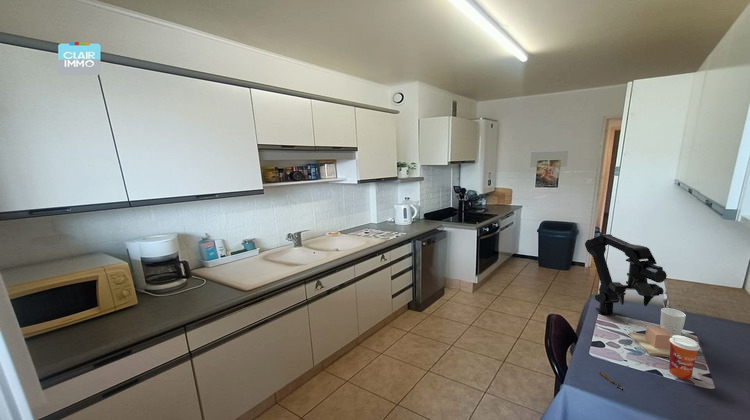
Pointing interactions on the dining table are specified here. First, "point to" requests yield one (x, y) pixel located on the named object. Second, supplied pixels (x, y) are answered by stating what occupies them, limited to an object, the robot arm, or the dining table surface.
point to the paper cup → (682, 356)
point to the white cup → (672, 320)
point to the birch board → (649, 346)
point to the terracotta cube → (658, 337)
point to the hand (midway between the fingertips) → (633, 305)
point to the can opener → (610, 380)
